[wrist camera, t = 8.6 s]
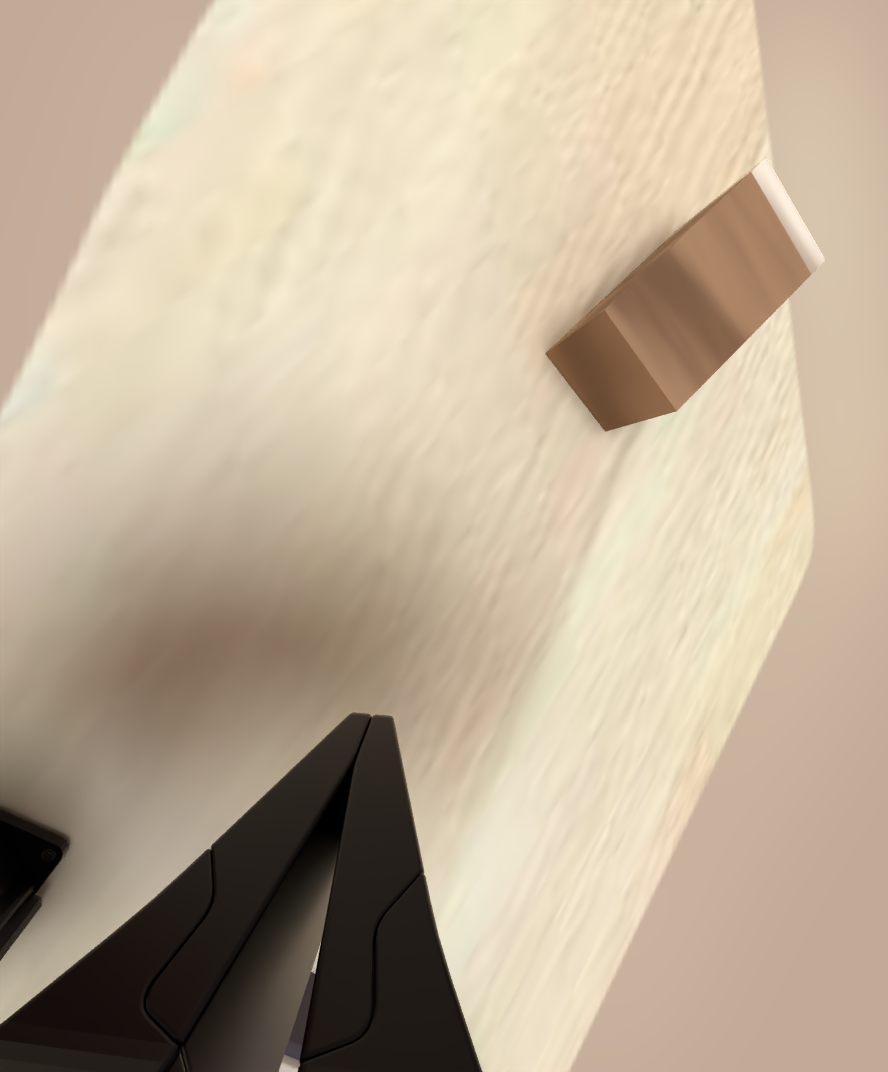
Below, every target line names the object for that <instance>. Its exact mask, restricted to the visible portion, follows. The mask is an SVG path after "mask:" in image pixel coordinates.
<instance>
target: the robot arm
mask: <svg viewBox="0 0 888 1072" xmlns="http://www.w3.org/2000/svg"><path fill="white" fill-rule="evenodd" d="M68 846H69V844H68V842H67V841H66V840H65V839H64V838H62V837H60V836H58V835H56V834H53V833H51V832H49V831H47V830H45V829H42V828H40V827H38V826H36V825H34V824H31V823H29V822H27V821H25V820H23V819H20V818H18V817H16V816H14V815H12V814H9V813H7V812H5V811H3V810H1V809H0V960H1V959H2V958H3V956H4V955H5V954H6V952H7V951H8V950H9V948H10V947H11V946H12V944H13V943H14V942H15V940H16V939H17V938H18V936H19V935H20V934H21V932H22V931H23V930H24V928H25V927H26V926H27V924H28V923H29V922H30V920H31V919H32V918H33V916H34V915H35V914H36V912H37V911H38V910H39V908H40V907H41V906H42V899H41V897H40V896H37V895H35V894H36V893H37V891H38V890H39V889H40V887H41V886H42V885H43V883H44V882H45V881H46V879H47V878H48V877H49V875H50V874H51V873H52V872H53V870H54V869H55V868H56V866H57V865H58V864H59V862H60V861H61V860H62V858H63V857H64V856H65V854H66V853H67V851H68ZM48 849H49V850H53V851H54V852H55V854H50V853H49V852H48V851H47V850H48ZM321 939H322V940H321ZM320 942H321V946H320V951H319V957H318V962H317V968H316V973H315V978H314V984H313V989H312V995H311V1000H310V1006H309V1011H308V1017H307V1022H306V1027H305V1033H304V1038H303V1044H302V1049H301V1055H300V1066H299V1068H298V1072H482V1070H481V1067H480V1064H479V1061H478V1058H477V1055H476V1052H475V1049H474V1046H473V1043H472V1040H471V1037H470V1034H469V1031H468V1028H467V1024H466V1021H465V1018H464V1015H463V1012H462V1009H461V1006H460V1003H459V1000H458V997H457V994H456V991H455V988H454V985H453V982H452V979H451V976H450V972H449V969H448V966H447V962H446V959H445V956H444V952H443V949H442V945H441V942H440V939H439V935H438V931H437V927H436V922H435V918H434V914H433V910H432V905H431V901H430V896H429V891H428V886H427V881H426V877H425V875H424V868H423V863H422V858H421V853H420V848H419V843H418V838H417V833H416V828H415V823H414V818H413V813H412V808H411V803H410V798H409V793H408V788H407V783H406V778H405V773H404V768H403V763H402V758H401V753H400V748H399V743H398V738H397V734H396V729H395V724H394V719H393V717H391V716H385V715H374V716H373V717H372V716H371V715H370V714H365V713H355V712H354V713H351V714H350V715H348V716H347V717H346V718H345V719H344V720H343V721H342V722H341V723H340V724H339V725H338V726H337V727H336V728H335V729H334V730H333V731H332V732H330V733H329V734H328V735H327V736H326V737H325V738H324V739H323V740H322V741H321V742H320V743H319V744H318V745H317V746H316V747H315V748H314V749H313V750H311V751H310V752H309V753H308V754H307V755H306V756H305V757H304V758H303V759H302V760H301V761H300V762H299V763H298V764H297V765H296V766H295V767H294V768H293V769H291V770H290V771H289V772H288V773H287V774H286V775H285V776H284V777H283V778H282V779H281V780H280V781H279V782H278V783H277V784H276V785H275V786H274V787H272V788H271V789H270V790H269V791H268V792H267V793H266V794H265V795H264V796H263V797H262V798H261V799H260V800H259V801H258V802H257V803H256V804H255V805H254V806H252V807H251V808H250V809H249V810H248V811H247V812H246V813H245V814H244V815H243V816H242V817H241V818H240V819H239V820H238V821H237V822H236V823H235V824H233V825H232V826H231V827H230V828H229V829H228V830H227V831H226V832H225V833H224V834H223V835H222V836H221V837H220V838H219V839H218V840H217V841H216V842H215V843H213V844H212V846H211V850H210V849H207V850H206V851H205V852H204V853H203V854H202V855H201V856H199V857H198V858H197V859H196V860H195V861H194V862H193V863H192V864H191V865H190V866H189V867H188V868H187V869H186V870H185V871H184V872H182V873H181V874H180V875H179V876H178V877H177V878H176V879H175V880H174V881H173V882H171V883H170V884H169V885H168V886H167V887H166V888H165V889H164V890H163V891H162V892H160V893H159V894H158V895H157V896H156V897H155V898H154V899H153V900H151V901H150V902H149V903H148V904H147V905H146V906H144V907H143V908H142V909H141V910H140V911H138V912H137V913H136V914H135V915H134V916H132V917H131V918H130V919H129V920H128V921H127V922H125V923H124V924H123V925H122V926H121V927H119V928H118V929H117V930H116V931H115V932H114V933H112V934H111V935H110V936H109V937H107V938H106V939H105V940H104V941H102V942H101V943H100V944H99V945H98V946H96V947H95V948H94V949H93V950H91V951H90V952H89V953H88V954H86V955H85V956H84V957H83V958H82V959H80V960H79V961H78V962H77V963H75V964H74V965H73V966H72V967H70V968H69V969H68V970H67V971H66V972H64V973H63V974H62V975H61V976H59V977H58V978H57V979H56V980H54V981H53V982H52V983H51V984H50V985H48V986H47V987H46V988H45V989H43V990H42V991H41V992H40V993H39V994H37V995H36V996H35V997H34V998H32V999H31V1000H30V1001H29V1002H27V1003H26V1004H25V1005H24V1006H23V1007H21V1008H20V1009H19V1010H18V1011H16V1012H15V1013H14V1014H13V1015H11V1016H10V1017H9V1018H8V1019H7V1020H5V1021H4V1022H3V1023H1V1024H0V1072H279V1069H280V1066H281V1063H282V1060H283V1057H284V1054H285V1051H286V1048H287V1044H288V1041H289V1038H290V1035H291V1032H292V1029H293V1026H294V1023H295V1020H296V1017H297V1013H298V1010H299V1007H300V1004H301V1001H302V998H303V995H304V992H305V989H306V986H307V983H308V979H309V976H310V973H311V970H312V967H313V964H314V961H315V958H316V955H317V952H318V949H319V945H320Z"/></svg>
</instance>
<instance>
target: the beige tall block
mask: <svg viewBox="0 0 888 1072" xmlns="http://www.w3.org/2000/svg"><path fill="white" fill-rule="evenodd" d="M824 261H825V258H824V257H823V255H822V253H821V252H820V250H819V248H818V246H817V245H816V243H815V241H814V239H813V238H812V236H811V234H810V233H809V231H808V229H807V227H806V225H805V224H804V222H803V220H802V218H801V217H800V215H799V213H798V212H797V210H796V208H795V206H794V205H793V203H792V201H791V199H790V198H789V196H788V194H787V192H786V191H785V189H784V187H783V185H782V184H781V182H780V180H779V178H778V177H777V175H776V173H775V171H774V170H773V168H772V166H771V165H770V163H769V161H768V159H767V158H765V159H764V160H762V161H761V162H760V163H759V164H758V165H756V166H755V167H754V168H753V169H751V170H750V171H749V172H748V173H747V174H745V175H744V176H743V177H742V178H740V179H739V180H738V181H737V182H736V183H734V184H733V185H732V186H731V187H730V188H728V189H727V190H726V191H725V192H723V193H722V194H721V195H720V196H719V197H717V198H716V199H715V200H714V201H712V202H711V203H710V204H709V205H708V206H706V207H705V208H704V209H703V210H701V211H700V212H699V213H698V214H697V215H695V216H694V217H693V218H692V219H690V220H689V221H688V222H687V223H686V224H684V225H683V226H682V227H681V228H679V229H678V230H677V231H676V232H675V233H674V234H673V235H672V236H671V237H670V238H668V239H667V240H666V241H665V242H664V243H663V244H662V245H661V246H660V247H659V248H658V249H657V250H656V251H655V252H654V253H652V254H651V255H650V256H649V257H648V258H647V259H646V260H645V261H644V262H643V263H642V264H641V265H640V266H639V267H638V268H636V269H635V270H634V271H633V272H632V273H631V274H630V275H629V276H628V277H627V278H626V279H625V280H624V281H623V282H622V283H620V284H619V285H618V286H617V287H616V288H615V289H614V290H613V291H612V292H611V293H610V294H609V295H608V296H607V297H606V298H605V299H603V300H602V301H601V302H600V303H599V304H598V305H597V306H596V307H595V308H594V309H593V310H592V311H591V312H590V313H589V314H587V315H586V316H585V317H584V318H583V319H582V320H581V321H580V322H579V323H578V324H577V325H576V326H575V327H574V328H573V329H571V330H570V331H569V332H568V333H567V334H566V335H565V336H564V337H563V338H562V339H561V340H560V341H559V342H558V343H557V344H555V345H554V346H553V347H552V348H551V349H550V350H549V351H548V352H547V353H546V355H547V356H548V358H549V359H550V360H551V361H552V363H553V364H554V365H555V367H556V368H557V369H558V371H559V372H560V373H561V374H562V376H563V377H564V378H565V380H566V381H567V382H568V384H569V385H570V386H571V387H572V389H573V390H574V391H575V393H576V394H577V395H578V397H579V398H580V399H581V400H582V402H583V403H584V404H585V406H586V407H587V408H588V410H589V411H590V412H591V413H592V415H593V416H594V417H595V419H596V420H597V421H598V423H599V424H600V425H601V427H602V428H603V429H604V430H605V431H609V430H612V429H616V428H619V427H623V426H626V425H630V424H633V423H637V422H640V421H644V420H647V419H651V418H654V417H658V416H661V415H665V414H668V413H672V412H676V411H677V410H678V409H679V408H680V407H681V406H682V405H683V404H684V403H685V402H686V401H687V400H688V399H689V398H690V397H691V396H692V395H693V394H694V393H695V392H696V391H697V390H698V389H699V388H700V387H701V386H702V385H703V384H704V383H705V382H706V381H707V380H708V379H709V378H710V377H711V376H712V375H713V374H714V373H715V372H716V371H717V370H718V369H719V368H720V367H721V366H722V365H723V364H724V363H725V362H726V361H727V360H728V359H729V358H730V357H731V356H732V355H733V354H734V352H735V351H736V350H737V349H738V348H739V347H740V346H741V345H742V344H743V343H744V342H745V341H746V340H747V339H748V338H749V337H750V336H751V335H752V334H753V333H754V332H755V331H756V330H757V329H758V328H759V327H760V326H761V325H762V324H763V323H764V322H765V321H766V320H767V319H768V318H769V317H770V316H771V315H772V314H773V313H774V312H775V311H776V310H777V309H778V308H779V307H780V306H781V305H782V304H783V303H784V302H785V301H786V300H787V299H788V298H789V297H790V295H792V294H793V293H794V291H796V290H797V289H798V287H800V285H801V284H802V283H803V282H804V281H805V280H806V279H807V278H808V277H809V276H810V275H811V274H812V273H813V272H814V271H815V270H816V269H817V268H818V267H819V266H820V265H821V264H822V263H823V262H824Z"/></svg>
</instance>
